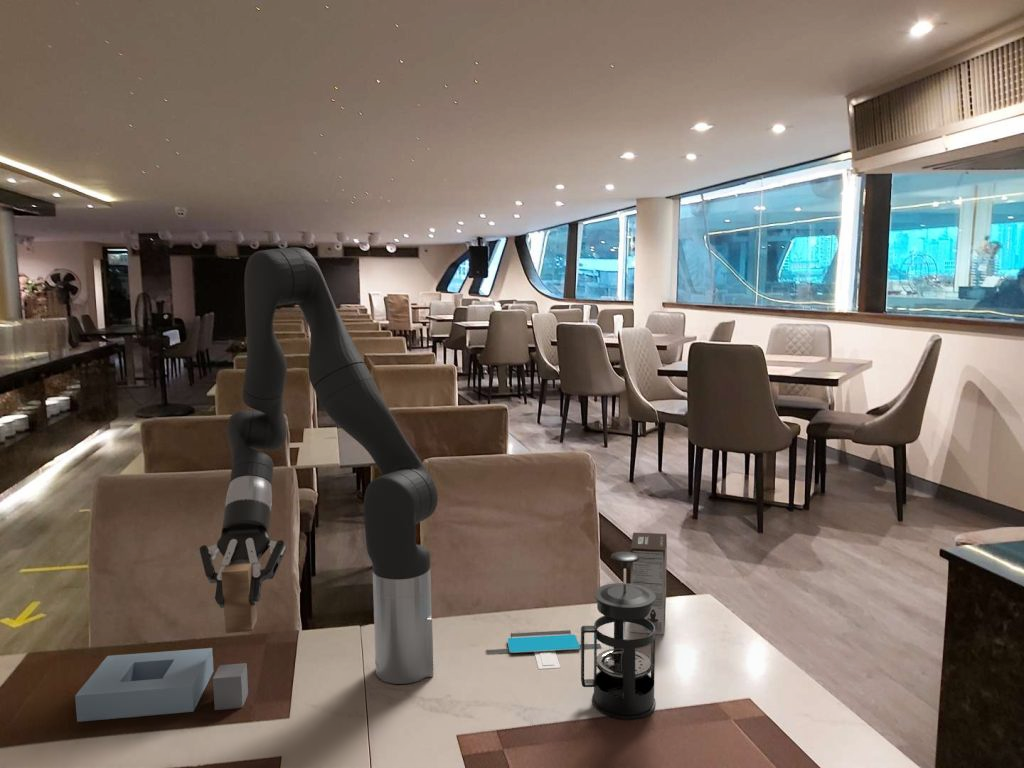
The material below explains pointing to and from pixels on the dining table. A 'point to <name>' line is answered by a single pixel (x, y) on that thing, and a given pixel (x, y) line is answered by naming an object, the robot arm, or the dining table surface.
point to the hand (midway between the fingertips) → (237, 604)
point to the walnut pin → (238, 597)
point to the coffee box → (651, 576)
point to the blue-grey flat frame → (145, 684)
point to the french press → (622, 649)
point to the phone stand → (542, 646)
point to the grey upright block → (230, 686)
